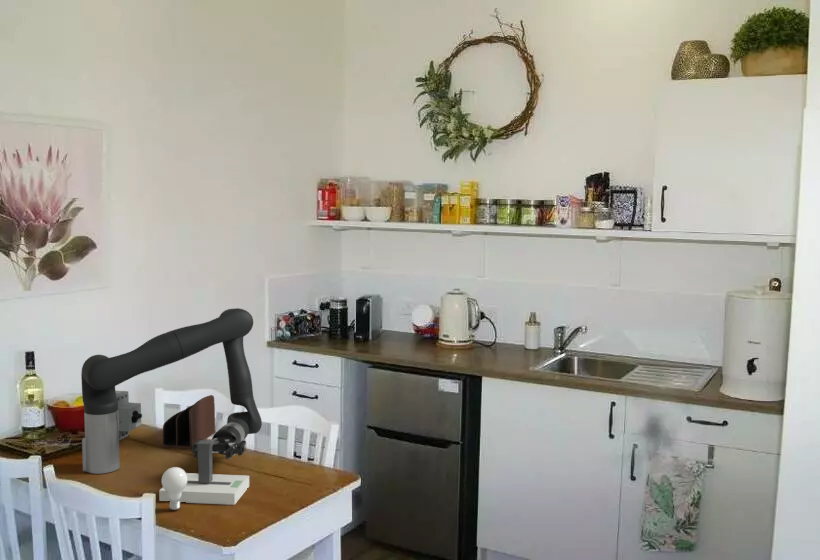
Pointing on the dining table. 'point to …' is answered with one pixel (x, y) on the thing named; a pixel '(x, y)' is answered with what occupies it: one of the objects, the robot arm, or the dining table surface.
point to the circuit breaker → (127, 414)
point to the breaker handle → (205, 461)
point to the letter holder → (190, 425)
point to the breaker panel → (212, 489)
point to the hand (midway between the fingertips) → (211, 455)
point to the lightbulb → (174, 485)
